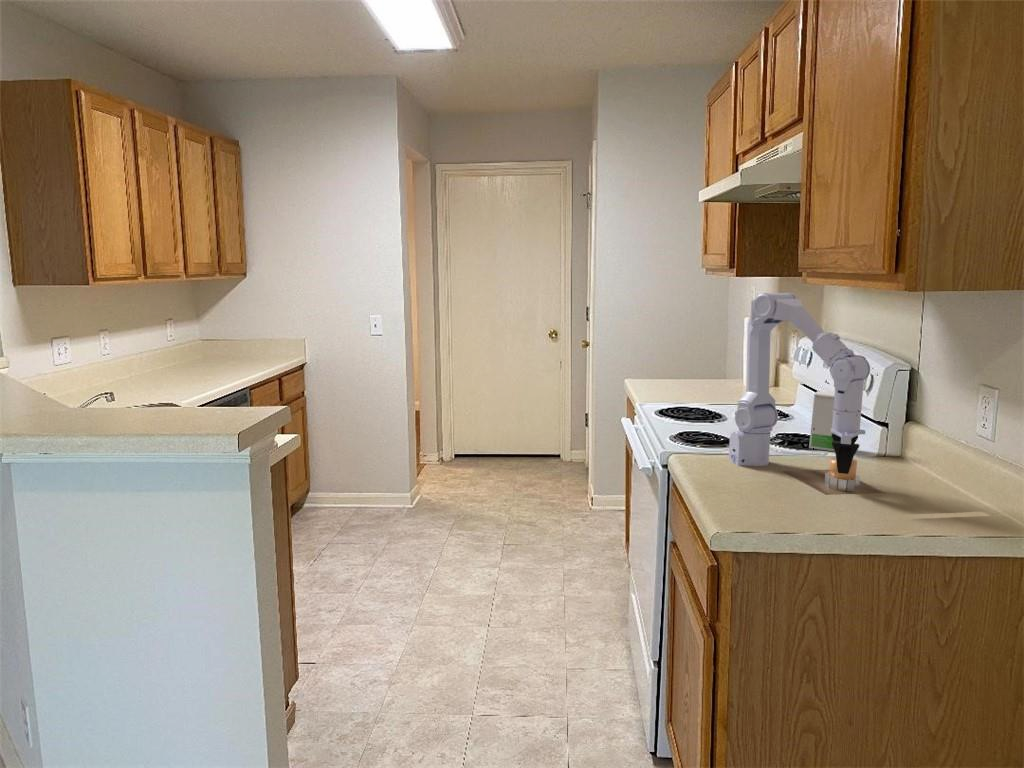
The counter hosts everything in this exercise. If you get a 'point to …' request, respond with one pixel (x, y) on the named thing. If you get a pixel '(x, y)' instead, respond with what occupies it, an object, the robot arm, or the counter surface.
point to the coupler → (834, 473)
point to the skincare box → (822, 421)
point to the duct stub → (842, 483)
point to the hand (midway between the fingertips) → (842, 469)
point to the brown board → (818, 480)
